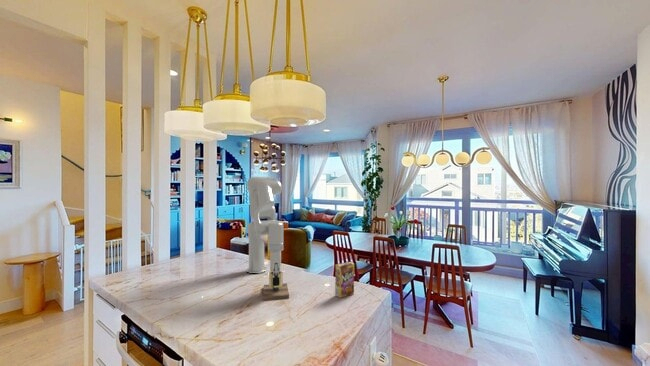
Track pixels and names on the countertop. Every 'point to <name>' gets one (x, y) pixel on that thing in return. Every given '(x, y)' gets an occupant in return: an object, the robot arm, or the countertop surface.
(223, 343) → the countertop surface
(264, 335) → the countertop surface
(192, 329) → the countertop surface
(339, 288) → the candy box
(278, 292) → the post stand
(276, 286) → the wooden cup
